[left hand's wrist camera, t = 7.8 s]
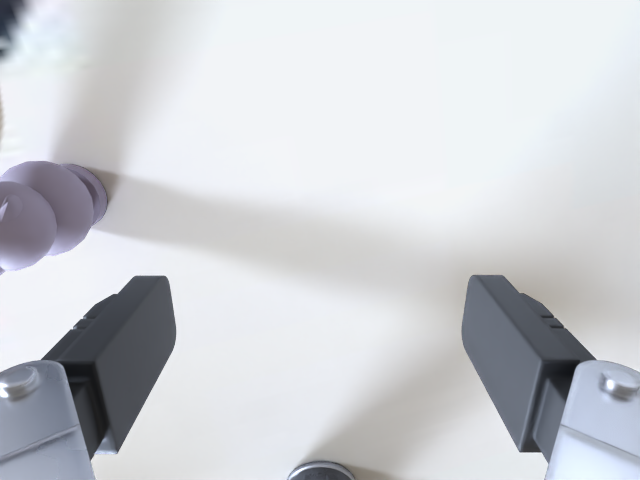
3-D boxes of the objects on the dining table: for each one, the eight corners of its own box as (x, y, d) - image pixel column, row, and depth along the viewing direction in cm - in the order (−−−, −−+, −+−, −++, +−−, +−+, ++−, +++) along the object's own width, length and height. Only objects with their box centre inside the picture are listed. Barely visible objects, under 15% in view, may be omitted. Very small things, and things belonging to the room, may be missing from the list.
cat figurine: (44, 135, 38) (-72, 161, 27) (126, 175, 39) (49, 215, 28) (22, 214, 41) (-91, 266, 30) (100, 248, 42) (20, 310, 31)
